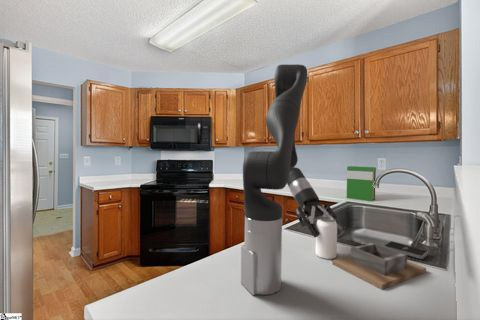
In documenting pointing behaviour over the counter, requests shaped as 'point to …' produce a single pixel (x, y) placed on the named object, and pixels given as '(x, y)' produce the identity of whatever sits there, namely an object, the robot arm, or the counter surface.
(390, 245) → the external hard drive
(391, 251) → the socket board
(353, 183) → the green cereal box
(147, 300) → the counter surface
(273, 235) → the robot arm
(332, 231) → the can
